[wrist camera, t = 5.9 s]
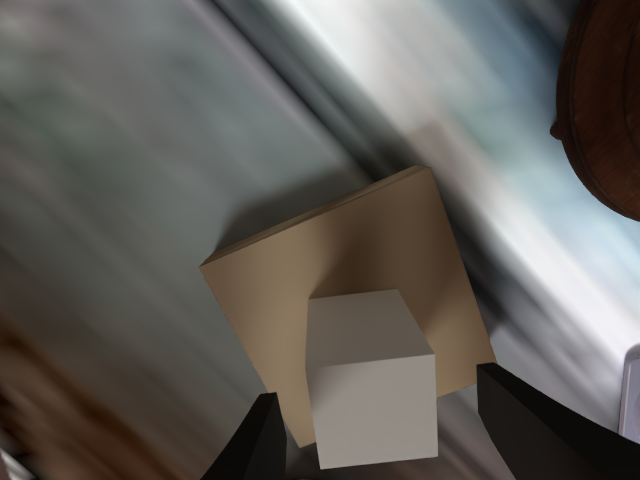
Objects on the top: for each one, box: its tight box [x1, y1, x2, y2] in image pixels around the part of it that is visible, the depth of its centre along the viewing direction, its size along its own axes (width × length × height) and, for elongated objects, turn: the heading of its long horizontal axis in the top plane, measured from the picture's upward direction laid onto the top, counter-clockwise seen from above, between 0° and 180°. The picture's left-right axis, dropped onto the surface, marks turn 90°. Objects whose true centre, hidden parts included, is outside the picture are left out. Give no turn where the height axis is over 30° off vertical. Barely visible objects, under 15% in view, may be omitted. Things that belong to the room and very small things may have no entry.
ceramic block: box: [305, 289, 438, 469], centre depth 15 cm, size 4×4×6 cm
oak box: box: [199, 165, 497, 448], centre depth 19 cm, size 12×12×3 cm
